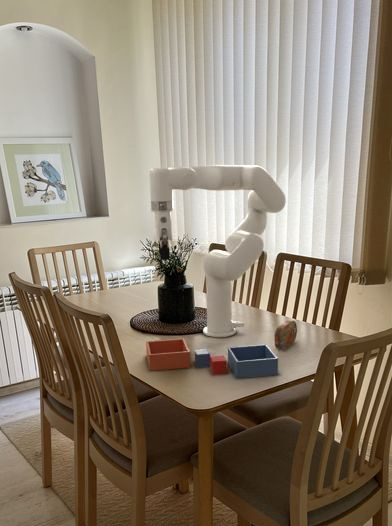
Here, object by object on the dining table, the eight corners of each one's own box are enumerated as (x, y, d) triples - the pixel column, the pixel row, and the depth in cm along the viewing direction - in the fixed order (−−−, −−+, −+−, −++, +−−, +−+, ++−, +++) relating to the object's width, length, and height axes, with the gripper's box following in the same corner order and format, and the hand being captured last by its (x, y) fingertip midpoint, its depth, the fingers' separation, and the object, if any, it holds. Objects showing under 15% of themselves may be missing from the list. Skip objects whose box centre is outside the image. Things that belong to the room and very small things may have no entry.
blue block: (208, 361, 184) (207, 348, 182) (210, 366, 180) (210, 353, 178) (194, 362, 183) (194, 349, 182) (197, 367, 179) (196, 354, 177)
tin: (280, 353, 189) (281, 330, 186) (272, 351, 191) (273, 328, 188) (297, 340, 201) (298, 318, 198) (289, 338, 203) (290, 317, 200)
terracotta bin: (184, 353, 191) (184, 338, 190) (190, 367, 179) (189, 351, 177) (146, 356, 190) (146, 341, 188) (150, 370, 177) (149, 354, 175)
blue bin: (266, 359, 184) (266, 344, 182) (277, 374, 172) (278, 358, 170) (227, 362, 182) (227, 347, 180) (236, 378, 170) (236, 361, 168)
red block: (224, 368, 178) (223, 355, 176) (227, 373, 174) (226, 360, 172) (210, 369, 177) (210, 356, 176) (213, 374, 173) (212, 361, 171)
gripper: (175, 208, 177) (177, 261, 183) (171, 203, 193) (173, 252, 199) (152, 209, 176) (154, 262, 182) (150, 204, 192) (152, 253, 198)
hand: (164, 257), depth 190 cm, fingers open, 9 cm apart
